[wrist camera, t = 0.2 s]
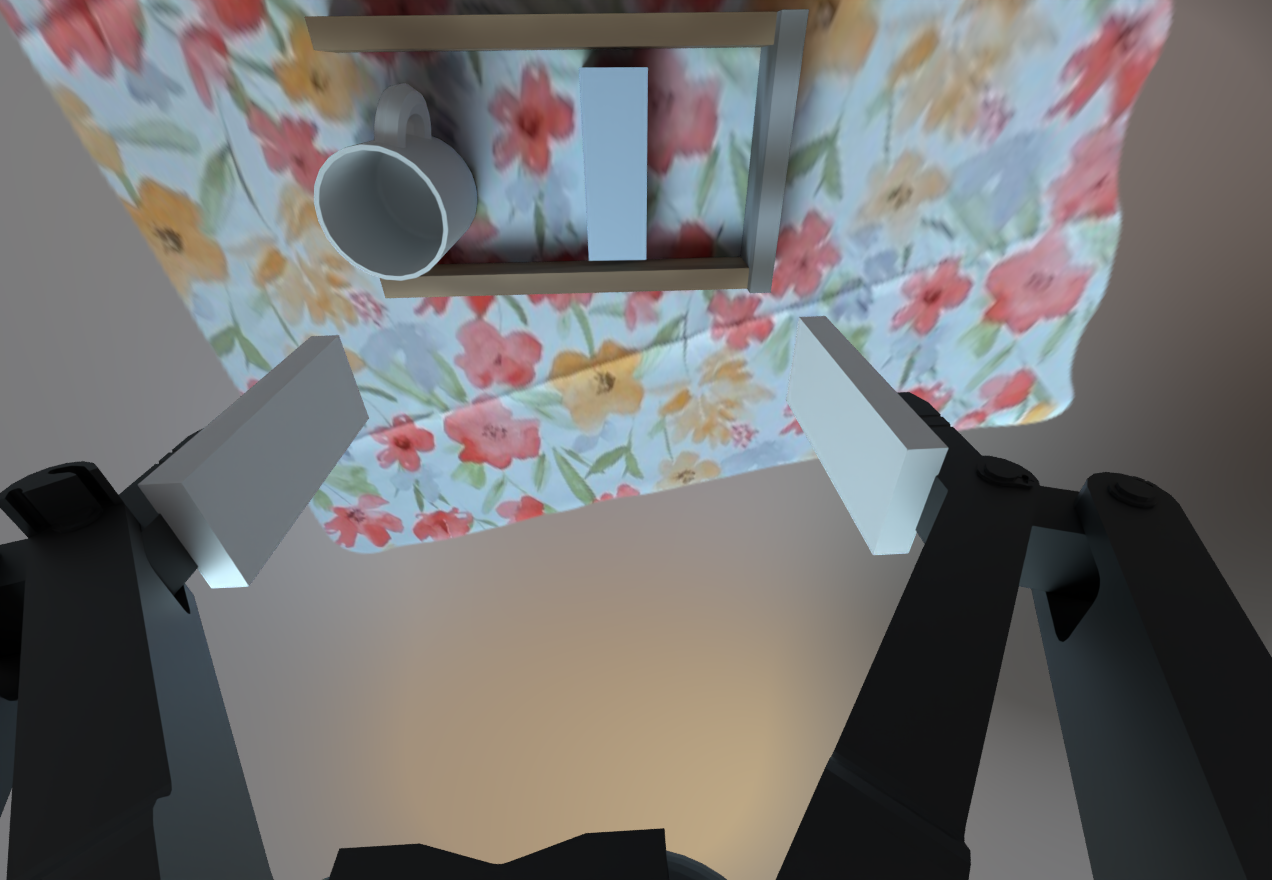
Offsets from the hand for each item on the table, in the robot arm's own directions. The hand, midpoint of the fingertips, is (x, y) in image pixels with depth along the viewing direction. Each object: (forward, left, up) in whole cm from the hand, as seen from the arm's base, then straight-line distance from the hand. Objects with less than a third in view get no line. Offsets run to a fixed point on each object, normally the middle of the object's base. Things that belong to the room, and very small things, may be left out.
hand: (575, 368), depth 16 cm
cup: (-2, -11, -27) cm, 30 cm away
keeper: (-2, +1, -27) cm, 28 cm away
